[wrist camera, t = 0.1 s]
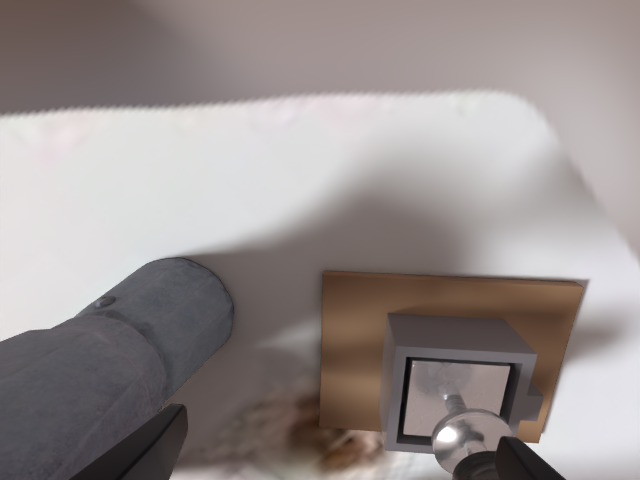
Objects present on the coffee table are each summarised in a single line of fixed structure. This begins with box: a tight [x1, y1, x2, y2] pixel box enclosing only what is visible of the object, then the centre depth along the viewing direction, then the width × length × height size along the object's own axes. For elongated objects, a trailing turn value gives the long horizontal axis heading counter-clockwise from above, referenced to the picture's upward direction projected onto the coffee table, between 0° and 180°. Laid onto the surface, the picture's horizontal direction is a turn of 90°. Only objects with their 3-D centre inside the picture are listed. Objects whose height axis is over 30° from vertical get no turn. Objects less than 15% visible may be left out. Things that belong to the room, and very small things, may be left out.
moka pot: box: [0, 258, 233, 480], centre depth 15 cm, size 10×15×20 cm, turn 29°
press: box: [378, 313, 544, 454], centre depth 22 cm, size 8×10×4 cm
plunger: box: [402, 357, 515, 480], centre depth 18 cm, size 6×6×7 cm
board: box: [319, 271, 584, 443], centre depth 24 cm, size 14×18×1 cm
